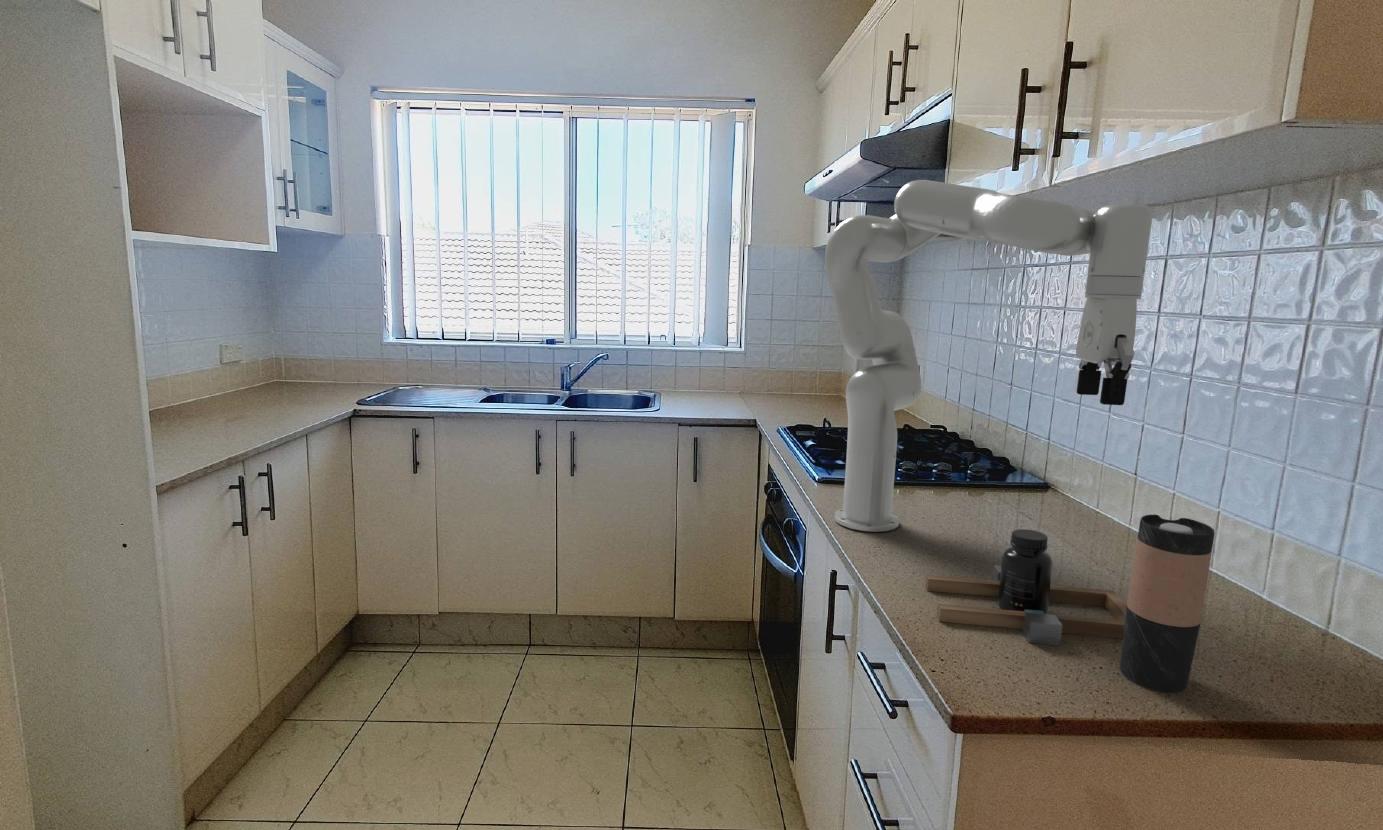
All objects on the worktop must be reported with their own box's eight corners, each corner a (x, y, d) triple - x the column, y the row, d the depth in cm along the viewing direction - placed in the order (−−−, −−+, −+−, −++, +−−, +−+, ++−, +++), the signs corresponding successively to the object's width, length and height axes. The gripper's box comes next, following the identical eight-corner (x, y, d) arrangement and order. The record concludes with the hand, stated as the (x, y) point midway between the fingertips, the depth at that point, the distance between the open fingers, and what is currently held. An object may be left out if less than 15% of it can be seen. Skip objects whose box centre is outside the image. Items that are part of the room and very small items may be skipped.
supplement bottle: (1004, 596, 112) (1012, 522, 110) (1052, 609, 108) (1061, 533, 105) (990, 611, 107) (998, 534, 104) (1039, 626, 103) (1049, 546, 100)
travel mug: (1162, 699, 85) (1189, 538, 81) (1103, 667, 92) (1125, 517, 88) (1204, 686, 88) (1231, 530, 84) (1143, 656, 95) (1166, 511, 91)
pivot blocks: (991, 582, 117) (993, 565, 116) (1017, 584, 116) (1019, 567, 116) (1028, 642, 98) (1030, 622, 97) (1059, 645, 97) (1062, 624, 96)
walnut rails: (925, 586, 115) (926, 572, 114) (1110, 602, 111) (1112, 588, 110) (939, 621, 103) (940, 606, 103) (1146, 640, 99) (1149, 625, 99)
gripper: (1067, 287, 119) (1055, 390, 122) (1110, 288, 102) (1094, 407, 105) (1116, 288, 118) (1102, 392, 121) (1167, 290, 101) (1150, 410, 104)
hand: (1098, 399), depth 113 cm, fingers open, 9 cm apart
